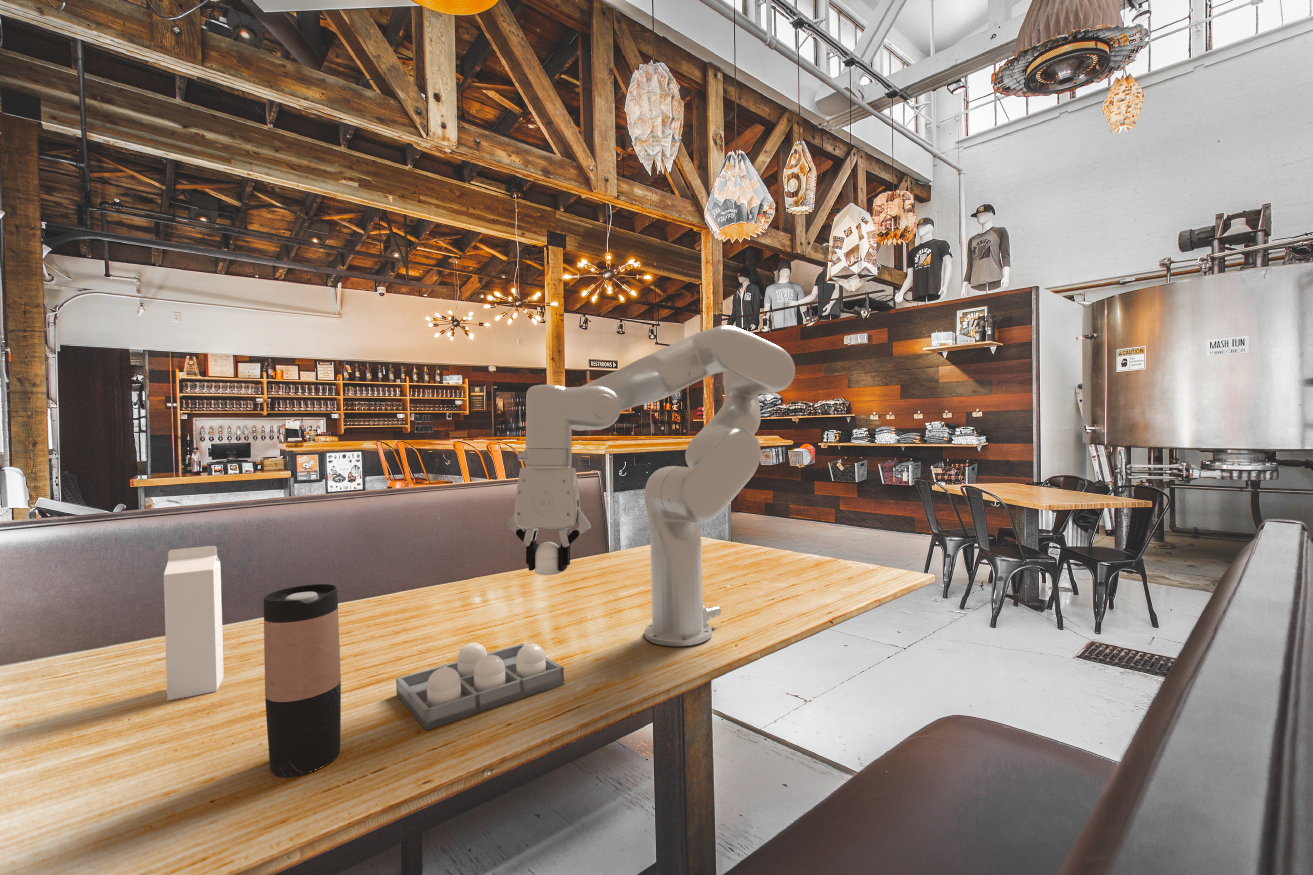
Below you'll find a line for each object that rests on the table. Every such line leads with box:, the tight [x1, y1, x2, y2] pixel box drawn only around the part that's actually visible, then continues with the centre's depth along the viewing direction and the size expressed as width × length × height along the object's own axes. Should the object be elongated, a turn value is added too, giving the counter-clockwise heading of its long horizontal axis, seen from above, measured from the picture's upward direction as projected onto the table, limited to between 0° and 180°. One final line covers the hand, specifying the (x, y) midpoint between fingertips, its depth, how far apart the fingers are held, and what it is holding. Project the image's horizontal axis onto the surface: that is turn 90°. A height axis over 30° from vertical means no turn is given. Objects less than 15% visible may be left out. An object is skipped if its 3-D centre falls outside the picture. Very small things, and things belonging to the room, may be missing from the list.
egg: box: [534, 541, 562, 576], centre depth 94 cm, size 4×4×5 cm
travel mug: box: [263, 583, 342, 778], centre depth 68 cm, size 8×8×20 cm
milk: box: [163, 545, 225, 701], centre depth 88 cm, size 6×6×22 cm
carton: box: [395, 642, 565, 731], centre depth 85 cm, size 20×14×6 cm
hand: (548, 568), depth 94 cm, fingers closed on egg, 4 cm apart
